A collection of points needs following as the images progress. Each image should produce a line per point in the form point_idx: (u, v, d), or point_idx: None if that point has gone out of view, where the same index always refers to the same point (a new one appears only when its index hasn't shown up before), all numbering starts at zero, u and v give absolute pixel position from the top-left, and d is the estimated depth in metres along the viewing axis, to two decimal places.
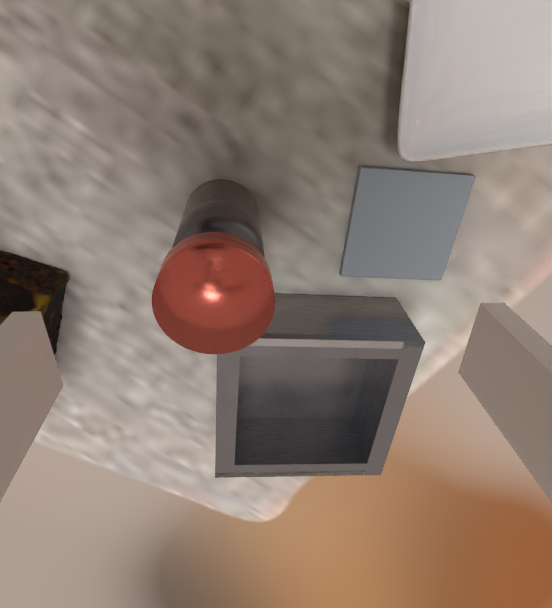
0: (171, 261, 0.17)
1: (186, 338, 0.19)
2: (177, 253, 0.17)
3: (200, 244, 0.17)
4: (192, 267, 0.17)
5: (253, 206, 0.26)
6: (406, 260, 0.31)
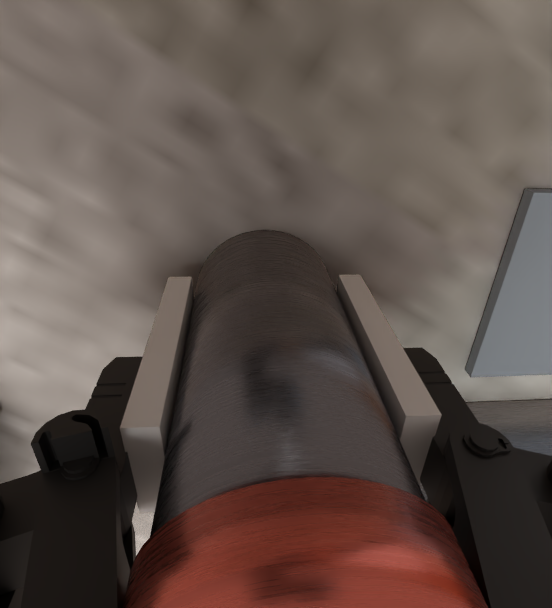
0: None
1: None
2: None
3: (265, 597, 0.04)
4: None
5: (331, 284, 0.13)
6: None
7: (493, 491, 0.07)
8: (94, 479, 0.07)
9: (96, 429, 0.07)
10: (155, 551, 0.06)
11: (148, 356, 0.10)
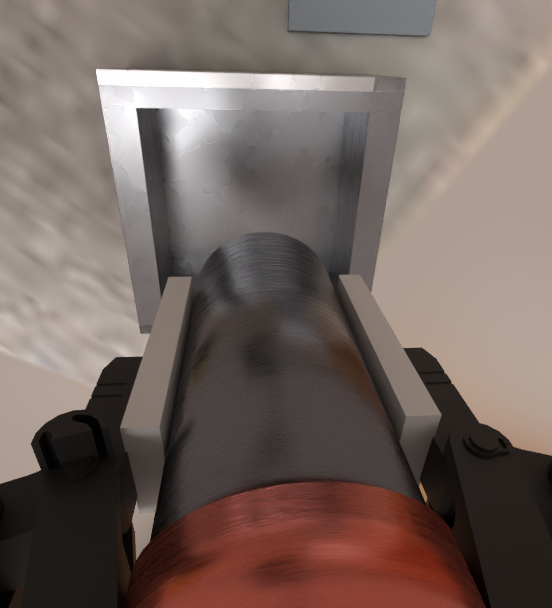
0: None
1: None
2: None
3: (266, 603, 0.04)
4: None
5: (331, 286, 0.13)
6: None
7: (493, 491, 0.07)
8: (94, 479, 0.07)
9: (96, 429, 0.07)
10: (155, 556, 0.06)
11: (148, 356, 0.10)
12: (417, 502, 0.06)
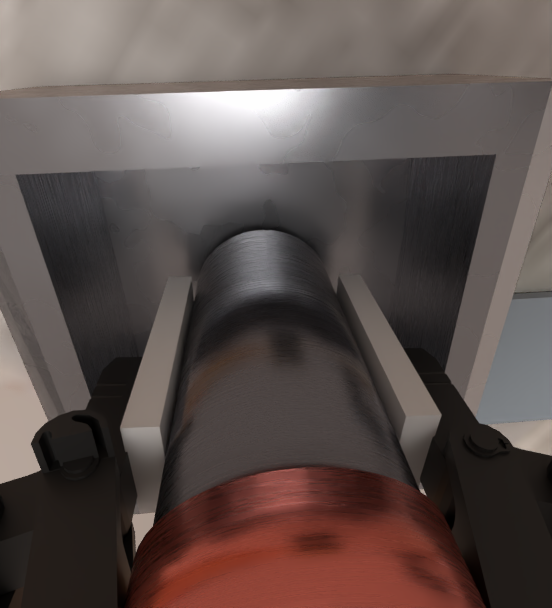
0: None
1: None
2: (179, 607, 0.05)
3: (265, 579, 0.05)
4: None
5: (330, 283, 0.13)
6: None
7: (493, 491, 0.07)
8: (94, 479, 0.07)
9: (96, 429, 0.07)
10: (158, 538, 0.06)
11: (148, 356, 0.10)
12: (411, 488, 0.06)
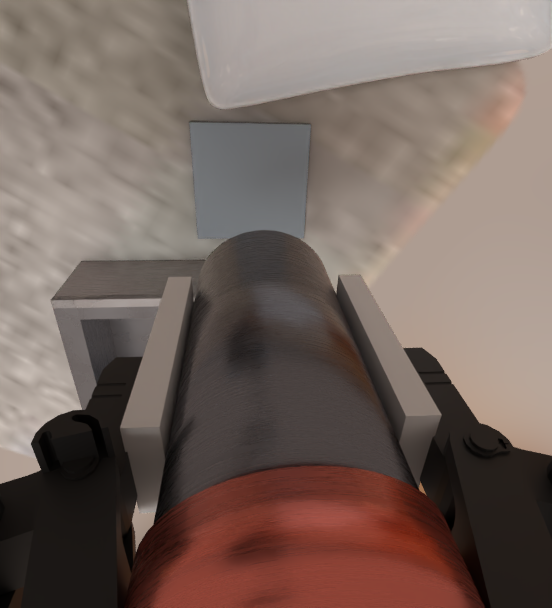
0: None
1: None
2: (179, 604, 0.05)
3: (264, 576, 0.05)
4: None
5: (329, 283, 0.13)
6: (261, 218, 0.30)
7: (493, 491, 0.07)
8: (94, 479, 0.07)
9: (96, 429, 0.07)
10: (159, 536, 0.06)
11: (148, 356, 0.10)
12: (410, 486, 0.06)
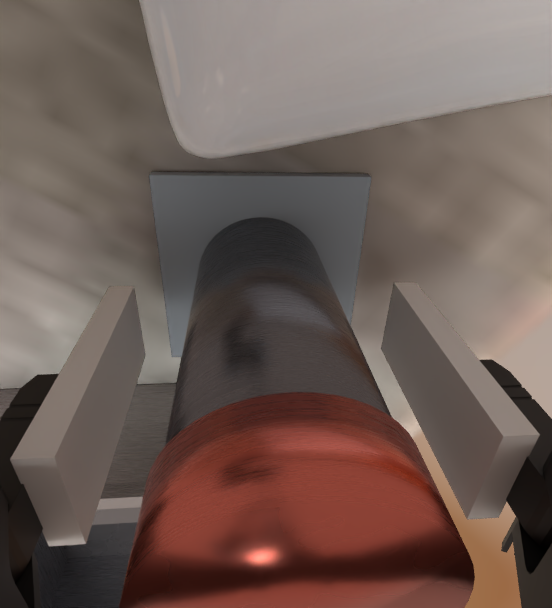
0: (170, 534, 0.05)
1: None
2: (188, 493, 0.06)
3: (258, 466, 0.06)
4: (236, 548, 0.05)
5: (321, 264, 0.14)
6: None
7: None
8: None
9: None
10: (169, 454, 0.07)
11: (64, 375, 0.09)
12: (385, 414, 0.07)
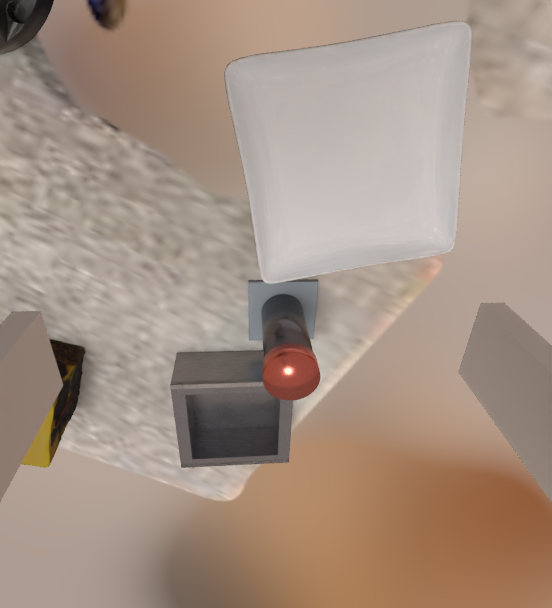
0: (273, 361, 0.38)
1: (277, 393, 0.39)
2: (275, 356, 0.38)
3: (285, 352, 0.38)
4: (282, 363, 0.38)
5: (301, 311, 0.46)
6: None
7: None
8: None
9: None
10: (269, 353, 0.39)
11: None
12: (308, 348, 0.39)
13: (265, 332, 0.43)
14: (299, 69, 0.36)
